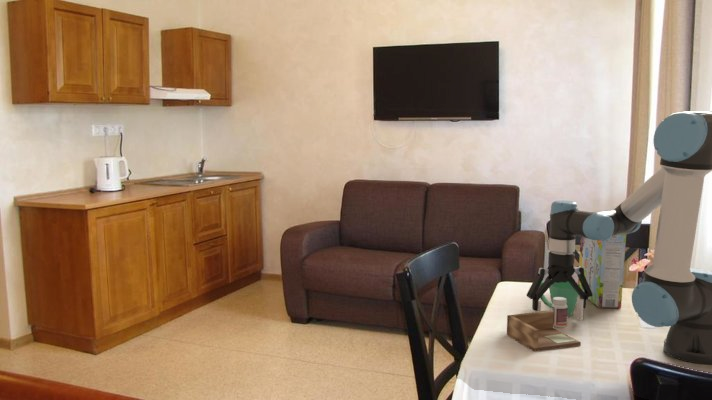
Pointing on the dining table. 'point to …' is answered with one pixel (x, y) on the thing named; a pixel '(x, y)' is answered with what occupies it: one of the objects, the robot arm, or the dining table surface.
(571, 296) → the mug
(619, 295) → the snack box
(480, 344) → the dining table surface
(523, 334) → the wooden corner tray
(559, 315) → the pill bottle
